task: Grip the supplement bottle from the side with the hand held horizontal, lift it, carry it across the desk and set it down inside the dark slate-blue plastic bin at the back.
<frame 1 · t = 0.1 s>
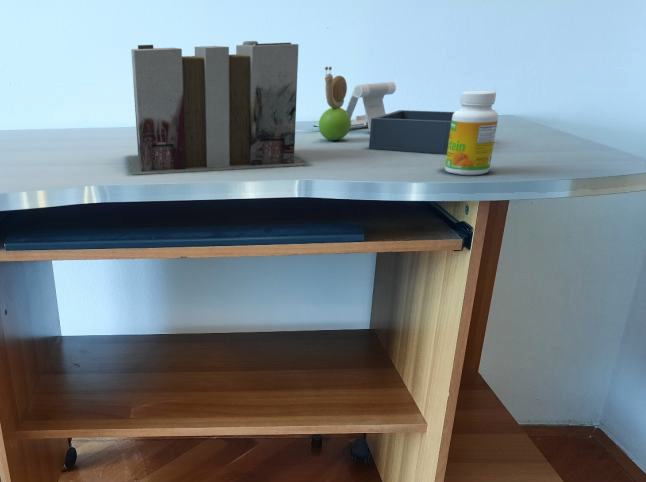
bin: (421, 145, 103), on the table
snail figurine: (332, 142, 111), on the table
building model: (212, 161, 97), on the table
supplement bottle: (466, 173, 84), on the table
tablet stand: (364, 131, 121), on the table
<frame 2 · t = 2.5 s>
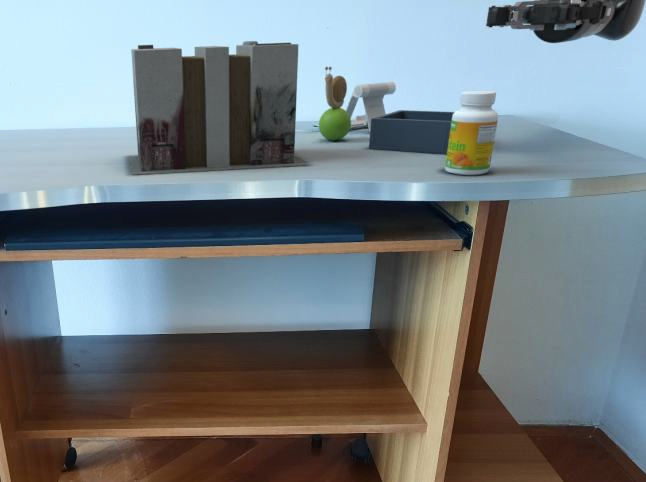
hand: (527, 15, 82), 18 cm above the table, tool horizontal, fingers open, 8 cm apart
nothing on the table moved.
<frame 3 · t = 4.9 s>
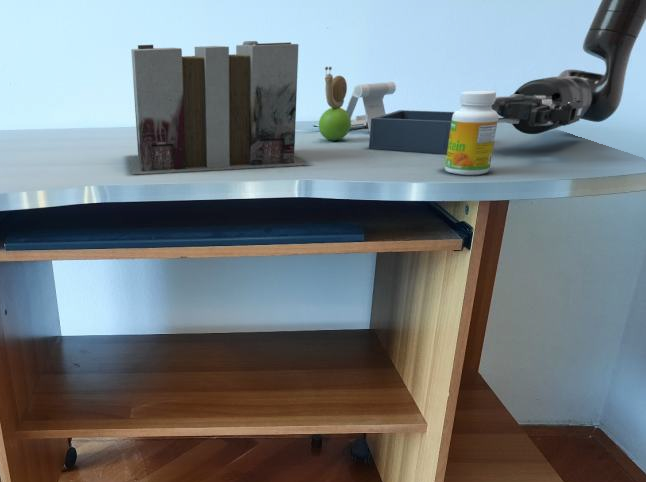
hand: (499, 115, 86), 6 cm above the table, tool horizontal, fingers open, 8 cm apart
nothing on the table moved.
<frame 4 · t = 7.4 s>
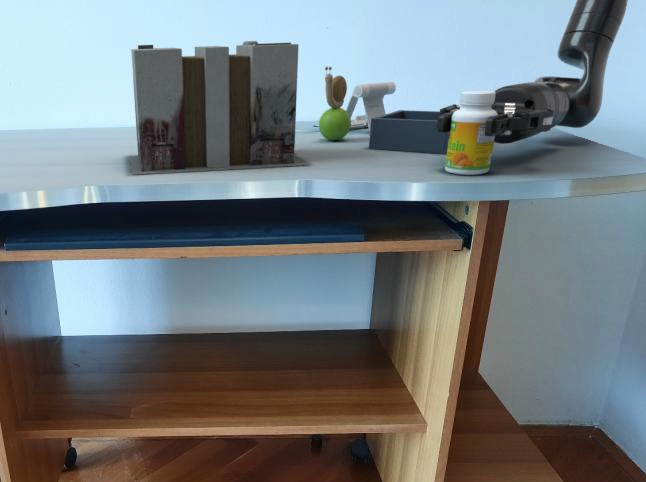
hand: (464, 125, 79), 6 cm above the table, tool horizontal, fingers closed on supplement bottle, 5 cm apart
supplement bottle: (466, 173, 84), on the table, touching gripper
everything else where it was.
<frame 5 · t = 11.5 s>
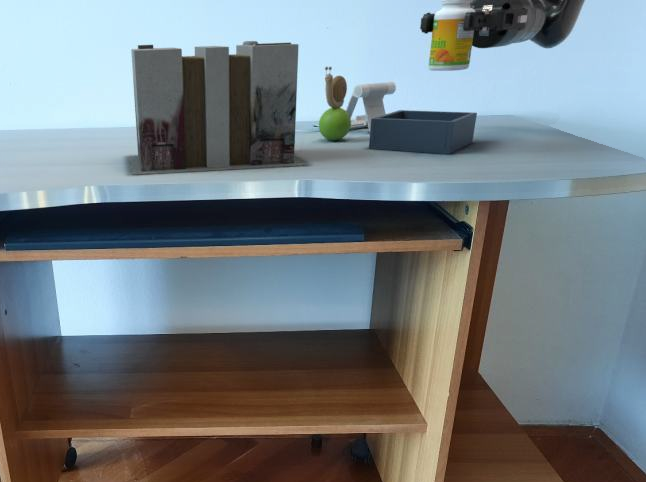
hand: (445, 22, 86), 18 cm above the table, tool horizontal, fingers closed on supplement bottle, 5 cm apart
supplement bottle: (448, 71, 91), point 11 cm above the table, touching gripper
everything else where it was.
when the fingers open (7 cm above the table, at t = 15.6 s): supplement bottle stays where it is, resting on bin.
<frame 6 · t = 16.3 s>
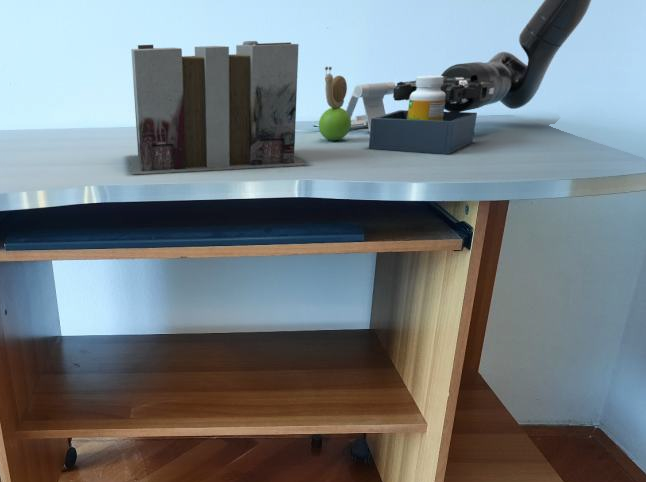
hand: (421, 94, 99), 8 cm above the table, tool horizontal, fingers open, 8 cm apart
supplement bottle: (421, 142, 103), resting on bin
everything else where it was.
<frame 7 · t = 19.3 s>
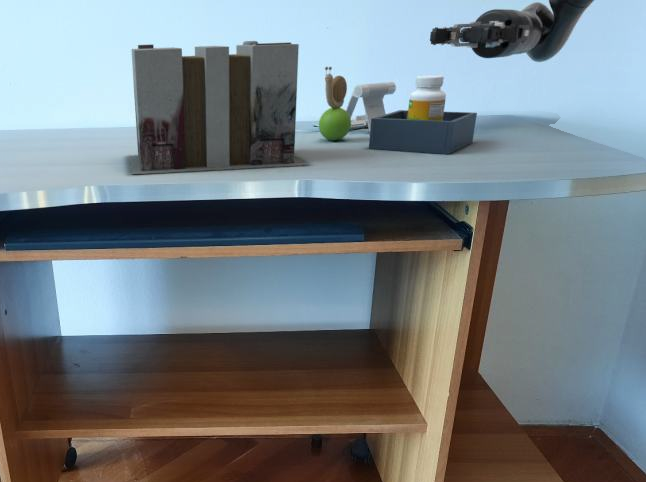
hand: (458, 35, 101), 16 cm above the table, tool horizontal, fingers open, 8 cm apart
nothing on the table moved.
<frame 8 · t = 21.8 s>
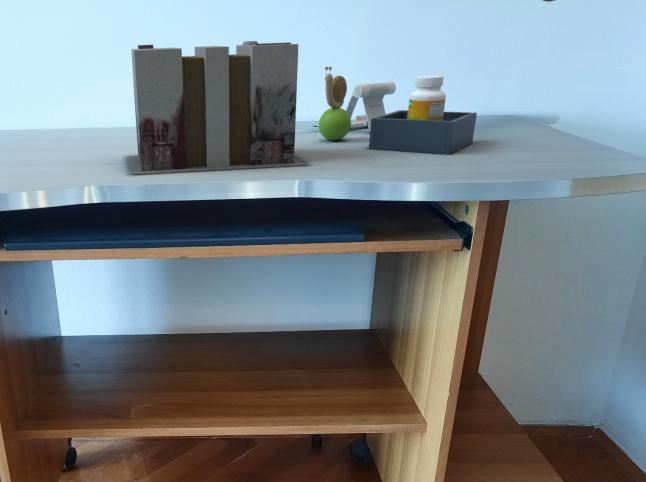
nothing on the table moved.
at the end: supplement bottle inside the target area in the bin (0.2 cm from its centre), point 0.4 cm above the bin's base; the gripper is holding nothing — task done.
